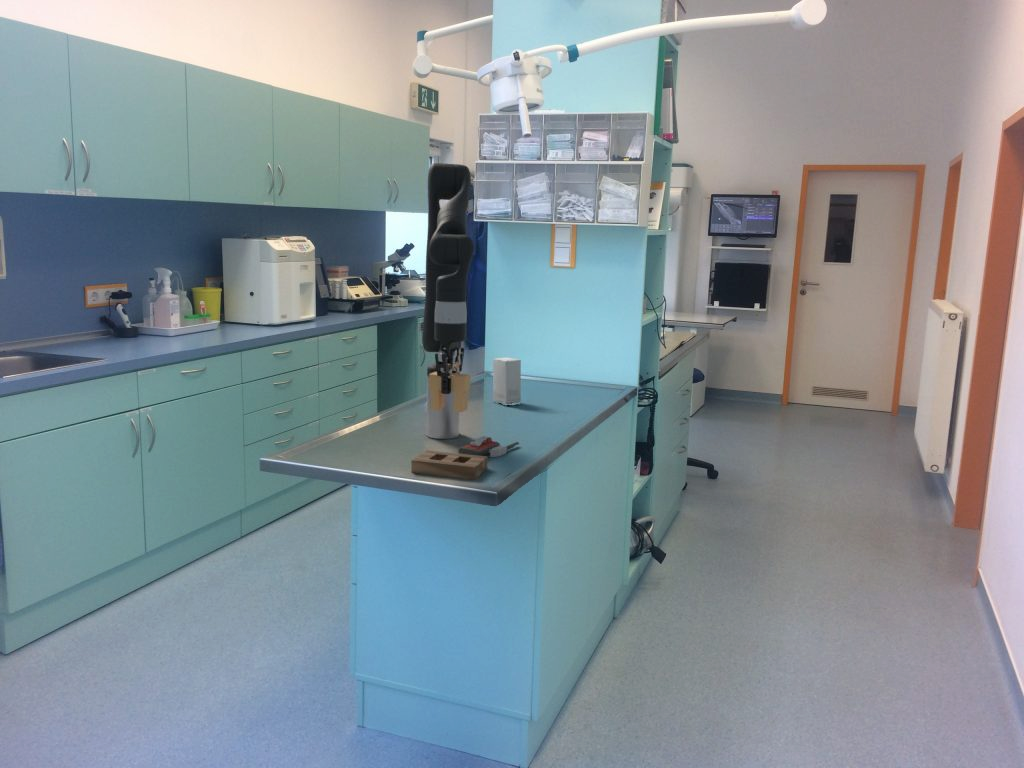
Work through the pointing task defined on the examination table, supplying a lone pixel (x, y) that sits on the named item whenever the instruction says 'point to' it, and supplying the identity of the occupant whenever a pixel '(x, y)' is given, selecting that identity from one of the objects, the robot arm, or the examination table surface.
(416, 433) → the examination table surface
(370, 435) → the examination table surface
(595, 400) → the examination table surface
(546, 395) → the examination table surface
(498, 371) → the skincare box
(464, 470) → the wooden socket block
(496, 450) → the red grey pronged tool
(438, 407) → the tan arch block
